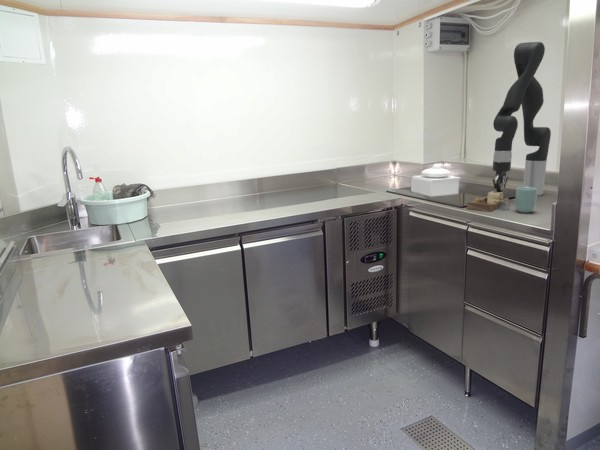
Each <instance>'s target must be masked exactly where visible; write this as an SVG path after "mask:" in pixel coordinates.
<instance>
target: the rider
mask: <svg viewBox="0 0 600 450" xmlns="http://www.w3.org/2000/svg"><path fill="white" fill-rule="evenodd" d="M487 196H488V198H487V203H486V204H492V203H494V201H495V200H496V201H500V200H502V199H504V192H503V191H502V192H496V191H489V192H487Z"/></svg>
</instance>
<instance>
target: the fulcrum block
mask: <svg viewBox="0 0 600 450" xmlns="http://www.w3.org/2000/svg"><path fill="white" fill-rule="evenodd" d="M509 201H510V200H509ZM509 201H500V204H499V206H498V209H497V210H499V211H508V210H509V209H510V204H509Z"/></svg>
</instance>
